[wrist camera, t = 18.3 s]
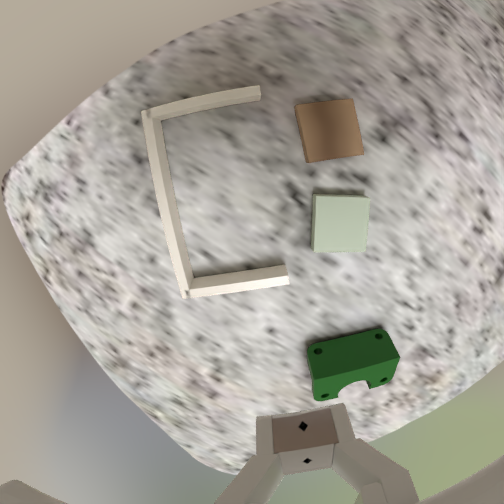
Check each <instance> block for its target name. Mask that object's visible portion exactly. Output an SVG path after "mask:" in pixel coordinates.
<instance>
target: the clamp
mask: <svg viewBox="0 0 504 504" xmlns="http://www.w3.org/2000/svg"><path fill="white" fill-rule="evenodd" d="M399 359H400V356H399V354H398V352H397V350H396V348H395V346H394V344H393V342H392V340H391V338H390V336H389V334H388V333H387V332H386V331H385V330H383V329H374V330H370V331H366V332H362V333H358V334H354V335H350V336H346V337H342V338H337V339H333V340H328V341H324V342H319V343H315V344H312V345H311V346H310V347H309V348H308V350H307V360H308V366H309V370H310V374H311V378H312V392H313V396H314V400H316V401H325V400H329V399H333V398H338V393H339V391H340V390H341V389H342V388H344V387H345V386H347V385H349V384H351V383H353V382H356V381H361V380H366V382H367V384H368V387H369V389H371V388H374V387H378V386H381V385H384V384H386V383H388V382H389V381H390V380H391V379H392V378H393V376H394V373H395V370H396V367H397V365H398V362H399Z"/></svg>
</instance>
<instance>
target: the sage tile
mask: <svg viewBox="0 0 504 504" xmlns="http://www.w3.org/2000/svg"><path fill="white" fill-rule="evenodd" d="M369 209H370V198H369V197H367V196H361V195H332V194H313V209H312V234H311V249H312V251H313V252H314V253H323V252H366V243H367V233H368V222H369Z"/></svg>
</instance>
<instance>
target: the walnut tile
mask: <svg viewBox="0 0 504 504" xmlns="http://www.w3.org/2000/svg"><path fill="white" fill-rule="evenodd" d="M294 109H295V113H296V118H297V122H298V126H299V131H300V136H301V140H302V145H303V150H304V155H305V160H306V163H312V162H318V161H324V160H330V159H336V158H343V157H350V156H357V155H364V150H363V145H362V139H361V134H360V129H359V124H358V120H357V115H356V110H355V106H354V102H353V99H342V100H331V101H322V102H314V103H306V104H299V105H296V106H295V107H294Z"/></svg>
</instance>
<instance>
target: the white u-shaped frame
mask: <svg viewBox="0 0 504 504" xmlns="http://www.w3.org/2000/svg"><path fill="white" fill-rule="evenodd" d="M260 99H261V91H260V85H256V86H249V87H243V88H237V89H231V90H225V91H220V92H215V93H210V94H205V95H200V96H196V97H191V98H187V99H183V100H179V101H175V102H171V103H167V104H164V105H160V106H156V107H153V108H149V109H146V110H143V111H141V115H142V121H143V128H144V134H145V140H146V146H147V151H148V157H149V162H150V167H151V173H152V178H153V182H154V187H155V192H156V197H157V201H158V206H159V210H160V215H161V219H162V223H163V228H164V232H165V236H166V240H167V244H168V248H169V252H170V255H171V259H172V263H173V267H174V270H175V274H176V278H177V281H178V285H179V288H180V292H181V295H182V299H187V298H195V297H203V296H210V295H218V294H225V293H233V292H240V291H247V290H254V289H260V288H267V287H274V286H280V285H287V284H289V277H288V273H287V269H286V266H285V265H278V266H272V267H265V268H259V269H252V270H245V271H239V272H232V273H225V274H218V275H211V276H204V277H197V278H194V276H193V272H192V268H191V264H190V260H189V256H188V252H187V248H186V244H185V239H184V235H183V231H182V226H181V222H180V217H179V213H178V208H177V204H176V199H175V194H174V189H173V184H172V179H171V174H170V169H169V164H168V158H167V153H166V147H165V142H164V136H163V130H162V124H161V121H162V120H165V119H169V118H173V117H177V116H181V115H185V114H189V113H194V112H198V111H203V110H208V109H213V108H218V107H223V106H229V105H234V104H240V103H247V102H253V101H260Z"/></svg>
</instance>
